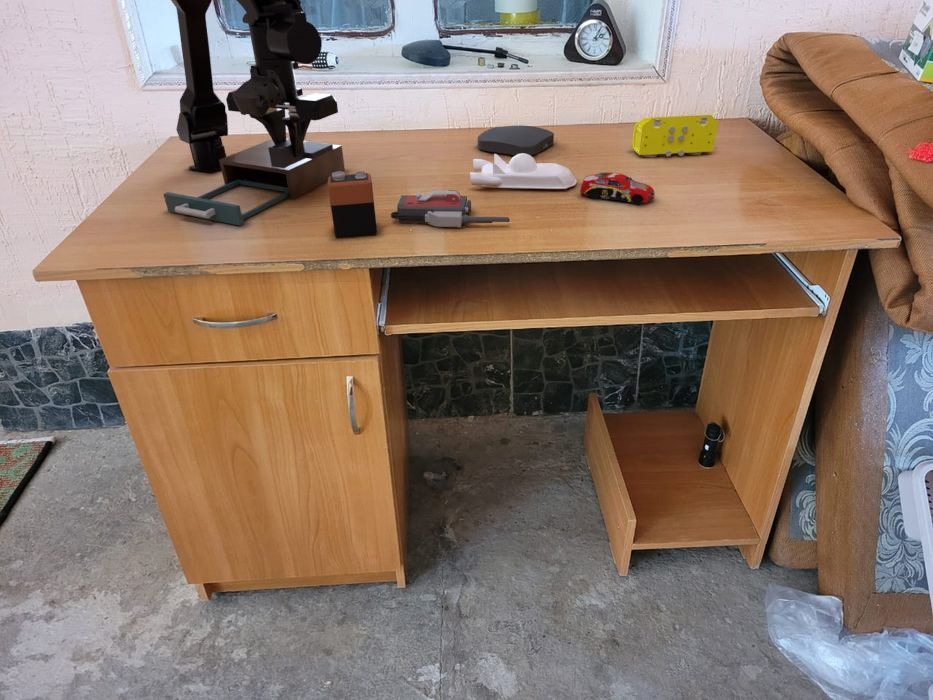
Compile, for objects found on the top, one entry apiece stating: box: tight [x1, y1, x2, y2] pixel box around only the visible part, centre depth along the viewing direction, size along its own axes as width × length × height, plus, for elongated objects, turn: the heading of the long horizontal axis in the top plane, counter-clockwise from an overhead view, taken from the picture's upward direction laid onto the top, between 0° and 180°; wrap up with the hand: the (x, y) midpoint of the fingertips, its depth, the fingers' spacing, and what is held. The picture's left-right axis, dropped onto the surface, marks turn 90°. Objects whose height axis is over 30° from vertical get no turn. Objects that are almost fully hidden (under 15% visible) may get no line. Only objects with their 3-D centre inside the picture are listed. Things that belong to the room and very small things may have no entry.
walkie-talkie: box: [390, 189, 510, 228], centre depth 109 cm, size 9×4×20 cm
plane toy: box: [469, 153, 577, 190], centre depth 123 cm, size 10×20×6 cm, turn 85°
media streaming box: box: [477, 124, 555, 156], centre depth 145 cm, size 15×15×3 cm
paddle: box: [268, 138, 333, 168], centre depth 112 cm, size 6×12×3 cm, turn 154°
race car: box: [579, 172, 656, 206], centre depth 117 cm, size 13×5×4 cm, turn 63°
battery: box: [327, 170, 378, 239], centre depth 104 cm, size 4×7×10 cm, turn 100°
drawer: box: [163, 179, 290, 226], centre depth 117 cm, size 19×17×3 cm
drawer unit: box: [219, 137, 346, 200], centre depth 128 cm, size 17×17×5 cm
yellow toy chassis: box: [631, 114, 719, 158], centre depth 136 cm, size 16×6×8 cm, turn 95°
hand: (290, 155), depth 111 cm, fingers closed on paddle, 2 cm apart
